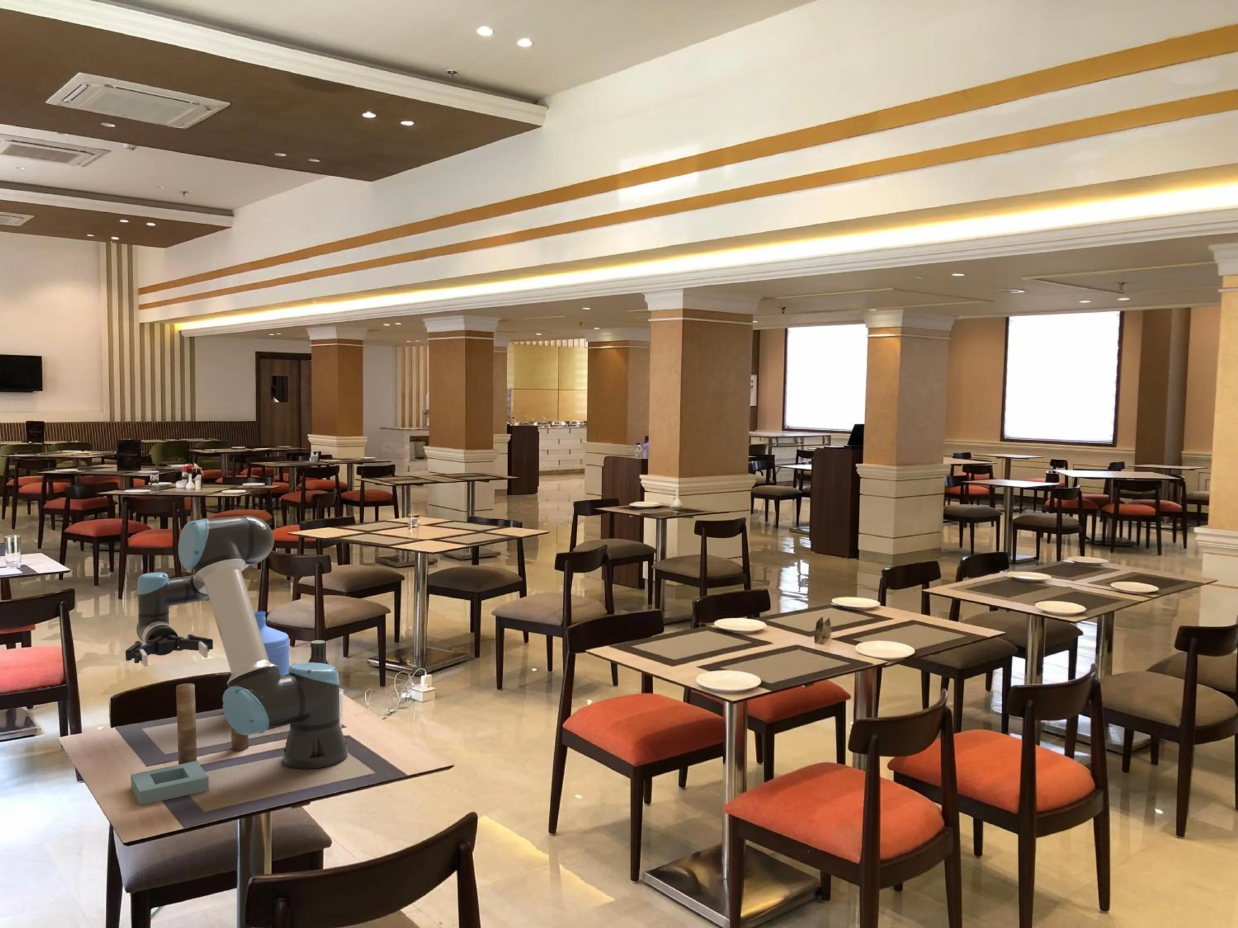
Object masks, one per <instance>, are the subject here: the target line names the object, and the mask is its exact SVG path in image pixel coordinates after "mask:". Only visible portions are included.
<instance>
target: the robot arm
mask: <svg viewBox="0 0 1238 928" xmlns="http://www.w3.org/2000/svg"><path fill="white" fill-rule="evenodd" d="M274 545H275V537H274V533H273V530H272V529H271V527H270V525H269V524H268V523H267V522H266V521H264V519H261V518H259V517H256V516H255V515H249V514H248V515H247V514H245V515H238V516H236V515H235V516H227V517H226V516H225V517H216V518H215V517H214V518H204V517H203V518H202V519H198V520H197V519H196V520H191V521H189V522H187V523H186V524H184V526H183V528H182V530H181V532H180V534H179V539H178V547H177V548H178V558H179V559H178V560H179V562H180V565H181V566H182V567H183V568H184V569H185V570H189V571H190V570H193V573H194V574H193V575H187V576H186V575H185V576H178V577H172V578H169V576H168V574H167V573H165V572H158V571H157V572H148V573H144V574H141V575H139V577H138V578H137V588H136V589H137V590H136V594H137V609H138V610H137V611H138V612H137V613H138V615H137V620H138V621H137V623H136V627H135V629H136V635H137V636H138V639H139V640H135V642H134V643H133V645H131V646H129V647H128V648H127V649H126V650H125V654H124V655H125V661H127V662H129V661H132V660H133V661H134V662H133V663H134V664H139V663H141V664H142V666H143V667H148V666H149V664H148V662H149V661H148V656H150V655H155V656H166V655H169V654H171V653H172V652H173V651H176V652H181V651H184V650H187V651H198V653H199V654H200V655H201V656H202V657H203V658H204V659H206V658H207V659H208V656H209V655H208V653H209V651H211V650H214V639H213V638H209V637H208V638H207V637H203V636H202V637H201V636H198V635H197V636H196V635H194V634H191V633H190V634H187V636H186V637H183V636H179V634H178V633H177V631H176V630H175V629H174V628H173V627H172V626H171V625H170V617H169V616H170V607H173V606H174V607H175V606H178V605H179V606H180V605H184V604H185V605H186V604H192V603H199V602H209V603H210V606H211V610H212V613H213V615H214V619H215V622H216V625H217V629H218V633H219V637H220V639H221V643H222V647H223V649H224V654H225V656H226V660H227V663H228V667H229V669H230V673H231V676H230V677H229V679H228V681H226V682H227V683H226V684H227V687H228V688H227V689H225V691H224V693H223V695H222V702H223V704H222V710H223V713H224V716H225V719H226V721H227V722H228V724H229V725H230V728H231V727H232V728H233V729H234V730H235V731H237V732H238V733H240V734H242V735H248V736H249V735H250V736H251V735H255V734H263V733H265V732H266V731H269V730H273V729H277V728H280V727H283V726H288V725H289V732H288V735H287V738H286V741H285V747H284V748H283V751H282V760H283V761H282V762H283V764H284V765H285V766H287V767H289V768H294V769H300V770H301V769H302V770H303V769H304V770H306V769H320V768H324V767H329V766H334V765H335V764H339V763H341V762H342V761H344V760H346V758H347V757H348V753H349V751H348V743H347V741H346V740H345V736H344V734H343V729H342V727H340V711H339V688H340V685H341V683H340V677H339V676H340V675H339V671H338V668H336V666H334V665H332V664H329V663H328V664H323V663H308V662H298V663H297V662H296V663H293V664H291V665H289V670H288V672H289V674H286V675H280V672H279V669H278V666H277V665H275V664H272V663H270V662H269V660H268V657H267V653H266V650H265V647H264V644H263V641H262V637H261V634H260V631H259V628H258V624H257V621H256V618H255V615H254V608H253V606H252V602H251V598H250V596H249V593H248V589H247V586H246V582H245V580H244V576H243V571H245V569H247V568H248V567H250V566H252V565H257V564H258V563H261V562H262V561H263V560H265V559H266V558H267V557H268V556H269V555H270V553H271V552H272V550H273V548H274Z"/></svg>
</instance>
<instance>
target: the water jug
mask: <svg viewBox="0 0 1238 928" xmlns="http://www.w3.org/2000/svg"><path fill="white" fill-rule="evenodd" d="M253 612H254V611H253ZM254 615H255V618H256V621H257V624H258V628H259V631H260V634H261V637H262V641H263V644H264V647H265V650H266V653H267V657H268V660H269V662H270V663H272V664H275V665H277V666H278V669H279V672H280V675H286V674H289V672H288V670H289V667H290V640H289V639H290V638H289V635H288V634H287V632H283V631H281V630H278V629H275V628H272V627H269V626H267V624H266V620H267V619H266V611H263V610H262V611H255V612H254Z"/></svg>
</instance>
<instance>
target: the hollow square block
mask: <svg viewBox="0 0 1238 928" xmlns="http://www.w3.org/2000/svg"><path fill="white" fill-rule="evenodd" d="M209 778H210V777H209V776H208V774H207V773H206V772H205V770H204V769H203V767H202V766H201V765H200V762H198V760H197V761H195V762H190V763H185V764H180V765H178V764H175V765H171V766H165V767H161V768H160V767H159V768H155V769H150V770H146V771H141V772H135V773H130V785H131V786H130V787H131V790H132V792H133V793H134V796H135V798H136V800H137V802H138V805H139V806H143V805H148V804H153V803H157V802H163V801H166V800H170V799H175V798H181V797H185V796H189V795H194V794H198V793H203V792H207V791H209V790H210V787H209V785H210V783H209Z"/></svg>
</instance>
